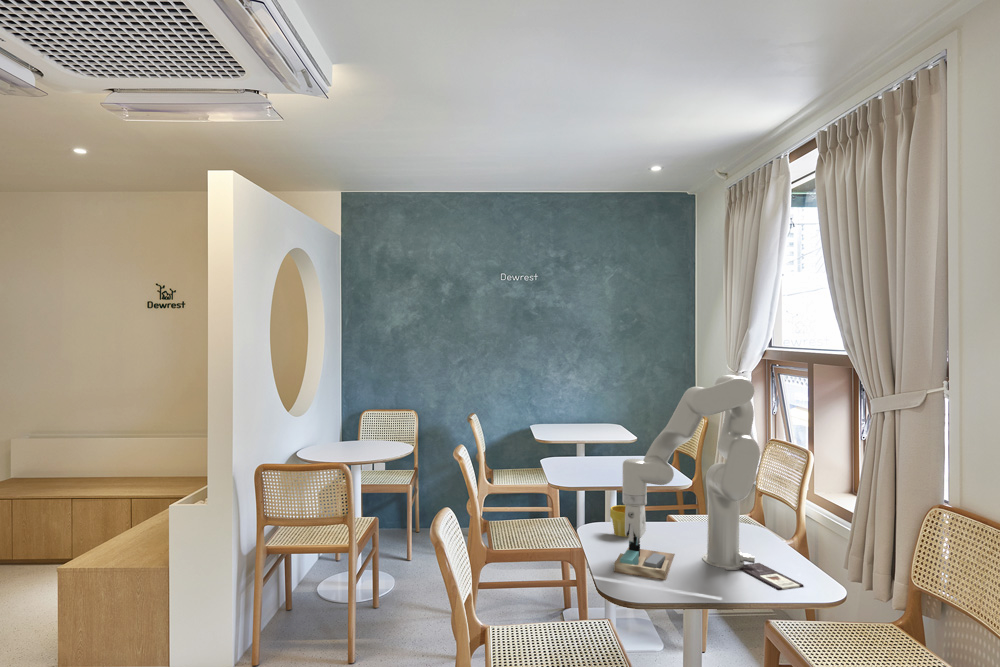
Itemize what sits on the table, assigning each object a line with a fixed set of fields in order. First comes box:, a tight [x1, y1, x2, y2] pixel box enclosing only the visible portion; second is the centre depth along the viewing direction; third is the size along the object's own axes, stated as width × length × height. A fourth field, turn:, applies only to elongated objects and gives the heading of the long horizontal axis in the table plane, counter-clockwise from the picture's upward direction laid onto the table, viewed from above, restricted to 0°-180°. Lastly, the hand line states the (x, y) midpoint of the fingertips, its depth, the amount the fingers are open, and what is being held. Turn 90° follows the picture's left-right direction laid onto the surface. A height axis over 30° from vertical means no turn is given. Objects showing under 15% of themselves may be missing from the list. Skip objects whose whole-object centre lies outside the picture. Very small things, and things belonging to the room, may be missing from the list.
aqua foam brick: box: [620, 549, 639, 565], centre depth 184 cm, size 4×9×4 cm, turn 155°
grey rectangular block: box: [644, 553, 665, 569], centre depth 182 cm, size 4×9×4 cm, turn 148°
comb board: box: [613, 546, 676, 581], centre depth 188 cm, size 15×24×3 cm, turn 158°
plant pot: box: [609, 504, 629, 538], centre depth 216 cm, size 10×10×10 cm
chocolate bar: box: [739, 562, 804, 591], centre depth 180 cm, size 9×1×18 cm
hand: (634, 556), depth 190 cm, fingers closed
